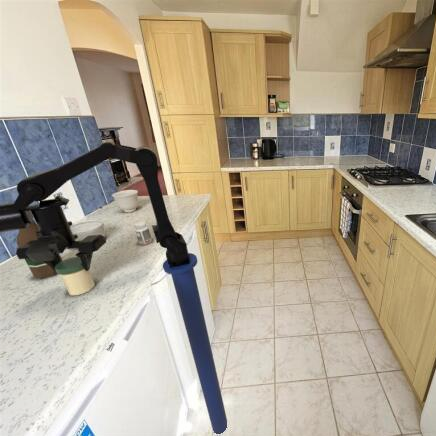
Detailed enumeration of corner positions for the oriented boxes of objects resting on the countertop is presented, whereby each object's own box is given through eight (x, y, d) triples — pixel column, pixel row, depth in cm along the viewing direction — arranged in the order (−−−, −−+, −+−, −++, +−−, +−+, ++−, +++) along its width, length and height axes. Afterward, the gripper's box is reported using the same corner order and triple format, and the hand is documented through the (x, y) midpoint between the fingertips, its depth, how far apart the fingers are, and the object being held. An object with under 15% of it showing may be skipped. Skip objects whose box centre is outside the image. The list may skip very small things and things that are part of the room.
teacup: (138, 203, 143) (134, 187, 139) (145, 210, 133) (140, 192, 129) (114, 209, 136) (108, 192, 132) (119, 216, 125) (113, 198, 121)
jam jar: (97, 279, 76) (88, 256, 73) (91, 291, 71) (81, 267, 68) (73, 284, 74) (62, 261, 71) (65, 297, 69) (53, 273, 66)
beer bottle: (38, 282, 76) (0, 210, 66) (31, 274, 80) (-7, 206, 70) (69, 269, 82) (38, 202, 72) (60, 262, 86) (30, 198, 76)
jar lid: (67, 262, 72) (65, 257, 72) (93, 259, 73) (91, 254, 73) (50, 276, 66) (48, 271, 65) (78, 273, 67) (76, 268, 66)
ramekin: (111, 240, 101) (106, 225, 98) (71, 253, 92) (63, 237, 89) (104, 231, 109) (99, 217, 106) (66, 242, 100) (59, 227, 98)
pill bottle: (152, 238, 102) (147, 220, 98) (151, 243, 98) (146, 224, 94) (139, 240, 100) (133, 222, 96) (138, 245, 96) (132, 226, 93)
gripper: (-19, 240, 55) (13, 294, 62) (72, 232, 58) (94, 285, 64) (21, 221, 66) (46, 269, 72) (98, 215, 68) (115, 262, 75)
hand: (74, 271), depth 70 cm, fingers closed on jar lid, 6 cm apart
